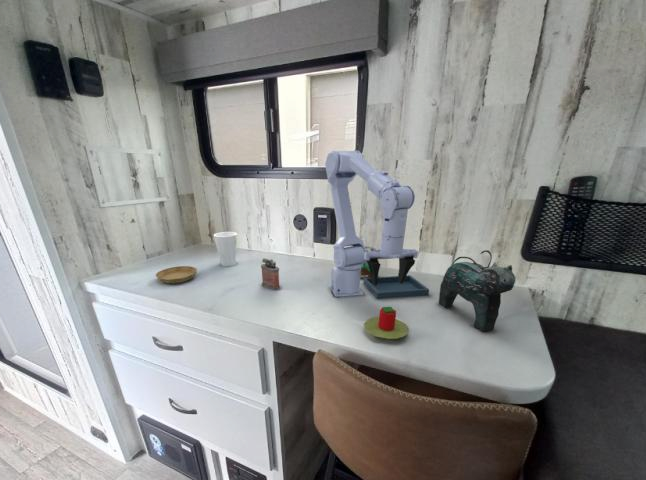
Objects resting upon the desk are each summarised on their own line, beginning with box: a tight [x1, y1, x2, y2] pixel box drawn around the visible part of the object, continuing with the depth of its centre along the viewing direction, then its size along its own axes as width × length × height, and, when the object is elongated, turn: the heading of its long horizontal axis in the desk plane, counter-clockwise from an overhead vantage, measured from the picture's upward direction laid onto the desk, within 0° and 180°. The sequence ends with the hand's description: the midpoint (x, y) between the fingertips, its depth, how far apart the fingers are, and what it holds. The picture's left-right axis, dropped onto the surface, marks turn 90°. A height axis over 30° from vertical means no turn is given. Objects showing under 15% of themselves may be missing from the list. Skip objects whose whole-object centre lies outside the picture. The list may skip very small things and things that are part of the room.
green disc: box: [363, 316, 410, 340], centre depth 79 cm, size 11×11×2 cm
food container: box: [360, 245, 378, 280], centre depth 117 cm, size 12×6×10 cm, turn 168°
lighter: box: [260, 257, 281, 291], centre depth 107 cm, size 8×3×10 cm, turn 47°
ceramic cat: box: [438, 249, 516, 333], centre depth 83 cm, size 20×6×20 cm, turn 17°
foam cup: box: [213, 231, 238, 267], centre depth 131 cm, size 10×9×13 cm
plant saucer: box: [155, 265, 198, 284], centre depth 117 cm, size 15×15×3 cm
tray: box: [363, 274, 430, 300], centre depth 105 cm, size 18×14×2 cm
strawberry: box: [378, 306, 397, 331], centre depth 78 cm, size 4×4×5 cm
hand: (387, 283), depth 86 cm, fingers open, 7 cm apart
